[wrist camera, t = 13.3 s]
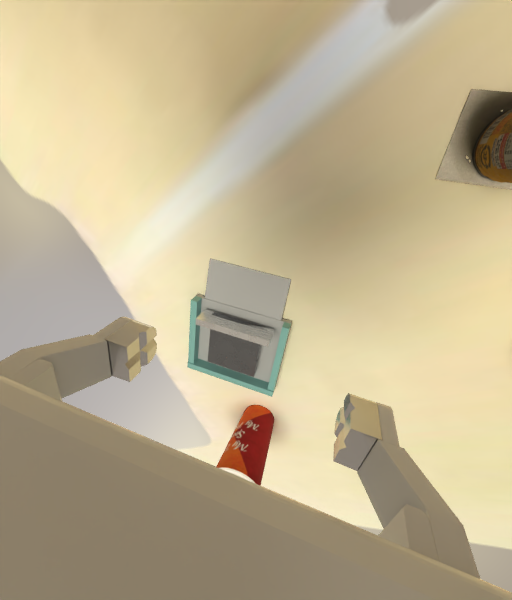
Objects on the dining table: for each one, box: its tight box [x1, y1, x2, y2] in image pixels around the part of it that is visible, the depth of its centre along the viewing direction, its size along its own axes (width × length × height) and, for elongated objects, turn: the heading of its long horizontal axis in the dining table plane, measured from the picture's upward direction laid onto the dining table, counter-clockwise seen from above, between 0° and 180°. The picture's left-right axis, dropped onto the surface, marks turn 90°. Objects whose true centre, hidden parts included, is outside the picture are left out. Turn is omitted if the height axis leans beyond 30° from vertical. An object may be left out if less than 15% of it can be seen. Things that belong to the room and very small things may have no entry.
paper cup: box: [217, 405, 274, 485], centre depth 43 cm, size 8×8×14 cm
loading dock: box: [188, 259, 292, 396], centre depth 41 cm, size 19×15×4 cm
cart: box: [196, 309, 275, 377], centre depth 41 cm, size 9×11×4 cm
